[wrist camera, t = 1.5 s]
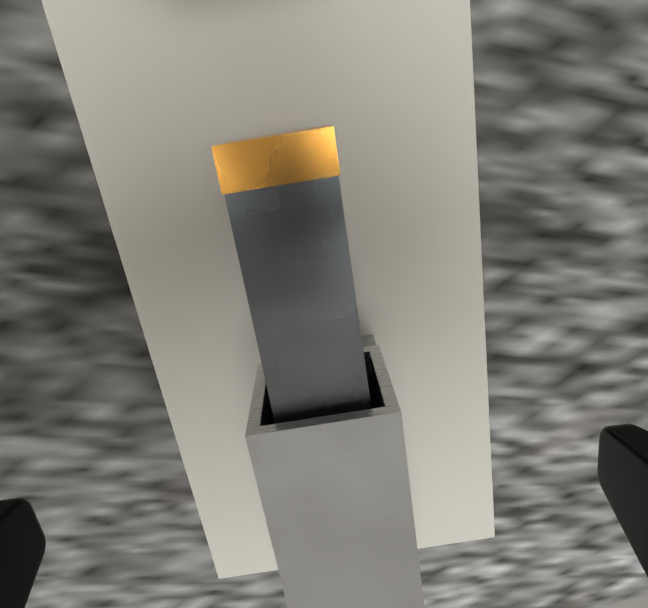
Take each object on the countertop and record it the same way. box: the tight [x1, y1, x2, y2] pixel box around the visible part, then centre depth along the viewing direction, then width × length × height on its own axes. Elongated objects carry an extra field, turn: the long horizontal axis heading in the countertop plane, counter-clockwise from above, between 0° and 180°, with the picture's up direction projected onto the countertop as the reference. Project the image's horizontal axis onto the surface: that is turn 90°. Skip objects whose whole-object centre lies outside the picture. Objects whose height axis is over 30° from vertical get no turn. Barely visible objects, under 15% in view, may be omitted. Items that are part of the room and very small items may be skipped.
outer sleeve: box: [245, 335, 424, 608], centre depth 20 cm, size 5×11×7 cm, turn 9°
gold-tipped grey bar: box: [211, 125, 372, 424], centre depth 17 cm, size 3×17×3 cm, turn 9°
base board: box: [41, 0, 495, 579], centre depth 20 cm, size 14×32×1 cm, turn 9°
